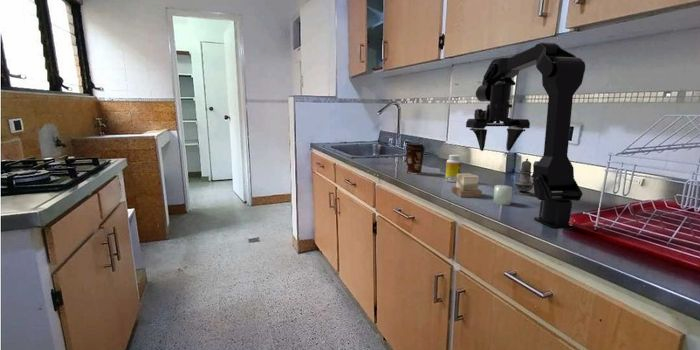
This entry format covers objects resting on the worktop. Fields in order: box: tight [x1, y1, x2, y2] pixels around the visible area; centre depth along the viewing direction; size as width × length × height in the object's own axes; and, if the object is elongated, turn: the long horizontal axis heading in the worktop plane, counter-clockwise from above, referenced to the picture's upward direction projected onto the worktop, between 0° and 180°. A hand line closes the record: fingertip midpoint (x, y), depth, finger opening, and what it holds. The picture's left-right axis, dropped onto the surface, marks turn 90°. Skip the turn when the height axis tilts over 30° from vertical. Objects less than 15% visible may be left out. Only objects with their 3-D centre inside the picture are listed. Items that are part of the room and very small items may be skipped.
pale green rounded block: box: [492, 184, 513, 206], centre depth 101 cm, size 5×5×5 cm
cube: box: [455, 173, 480, 190], centre depth 110 cm, size 5×5×4 cm
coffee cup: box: [405, 142, 426, 175], centre depth 147 cm, size 9×8×13 cm
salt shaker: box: [514, 158, 534, 197], centre depth 112 cm, size 6×6×12 cm
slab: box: [450, 185, 483, 198], centre depth 111 cm, size 7×7×2 cm
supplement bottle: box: [445, 154, 462, 183], centre depth 131 cm, size 6×6×10 cm
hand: (495, 150), depth 108 cm, fingers open, 9 cm apart
